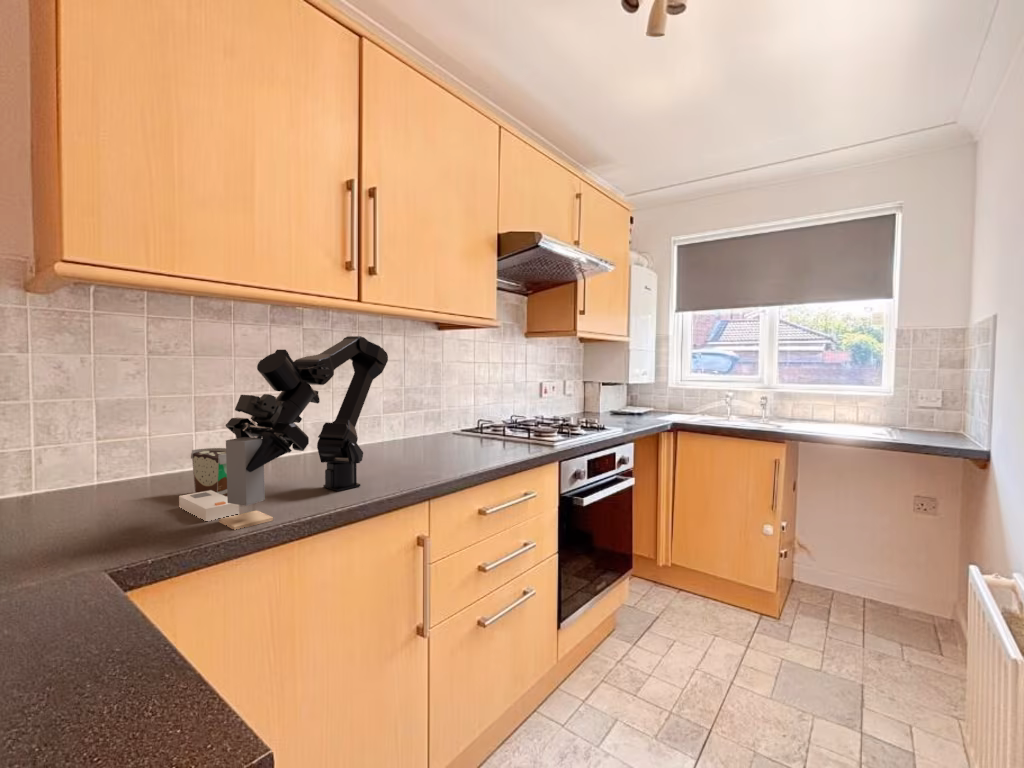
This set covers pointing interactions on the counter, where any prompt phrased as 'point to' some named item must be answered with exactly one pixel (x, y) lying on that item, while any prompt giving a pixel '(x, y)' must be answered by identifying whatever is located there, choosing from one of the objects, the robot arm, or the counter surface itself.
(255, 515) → the cork mat
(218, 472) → the food container
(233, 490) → the brick
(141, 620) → the counter surface
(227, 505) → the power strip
